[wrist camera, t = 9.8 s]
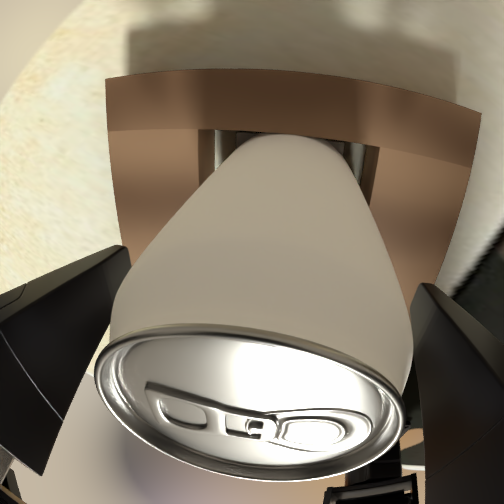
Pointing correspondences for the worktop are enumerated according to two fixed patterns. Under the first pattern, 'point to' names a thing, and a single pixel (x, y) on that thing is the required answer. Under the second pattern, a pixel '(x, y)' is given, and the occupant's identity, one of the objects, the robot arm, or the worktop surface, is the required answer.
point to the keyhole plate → (296, 123)
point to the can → (264, 323)
